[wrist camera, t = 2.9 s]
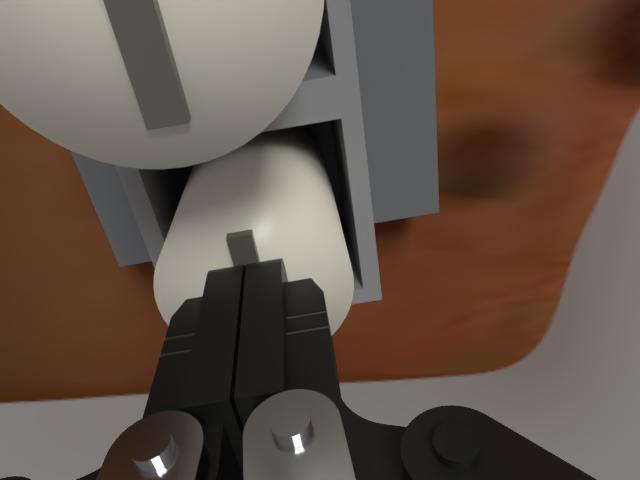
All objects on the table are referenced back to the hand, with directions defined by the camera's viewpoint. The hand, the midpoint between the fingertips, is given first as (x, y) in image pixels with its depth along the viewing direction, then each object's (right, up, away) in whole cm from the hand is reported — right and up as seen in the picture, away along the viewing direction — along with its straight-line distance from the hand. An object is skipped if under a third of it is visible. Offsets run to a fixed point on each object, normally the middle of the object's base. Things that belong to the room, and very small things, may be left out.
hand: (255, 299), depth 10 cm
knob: (-1, +3, +5) cm, 6 cm away
